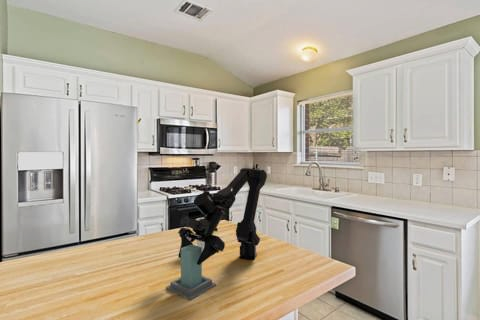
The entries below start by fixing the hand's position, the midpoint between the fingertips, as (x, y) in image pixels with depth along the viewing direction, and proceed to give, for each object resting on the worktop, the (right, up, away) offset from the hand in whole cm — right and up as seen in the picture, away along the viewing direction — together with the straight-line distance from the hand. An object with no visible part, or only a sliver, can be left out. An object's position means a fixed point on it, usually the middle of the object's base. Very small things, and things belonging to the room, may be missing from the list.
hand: (188, 260), depth 91 cm
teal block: (+1, -9, +1) cm, 9 cm away
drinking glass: (0, -9, +35) cm, 36 cm away
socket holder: (+1, -10, +1) cm, 10 cm away
